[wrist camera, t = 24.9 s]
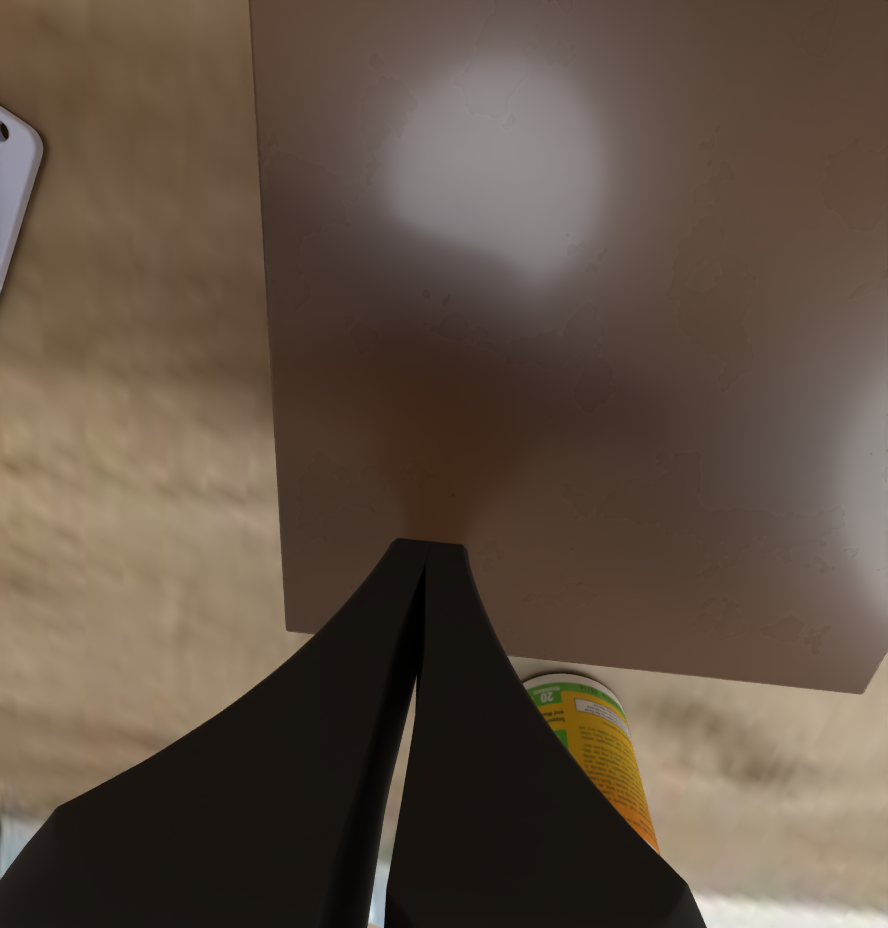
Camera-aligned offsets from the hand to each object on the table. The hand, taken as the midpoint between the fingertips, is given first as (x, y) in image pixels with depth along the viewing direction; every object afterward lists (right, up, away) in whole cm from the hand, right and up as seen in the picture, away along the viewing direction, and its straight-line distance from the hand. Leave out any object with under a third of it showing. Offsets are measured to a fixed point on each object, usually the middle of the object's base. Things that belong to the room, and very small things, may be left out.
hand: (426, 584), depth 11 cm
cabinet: (+4, +7, +7) cm, 11 cm away
